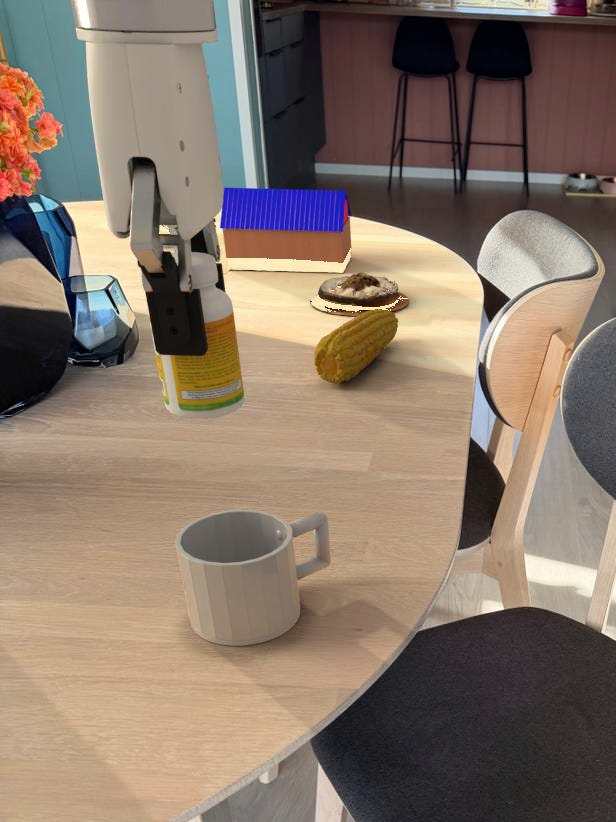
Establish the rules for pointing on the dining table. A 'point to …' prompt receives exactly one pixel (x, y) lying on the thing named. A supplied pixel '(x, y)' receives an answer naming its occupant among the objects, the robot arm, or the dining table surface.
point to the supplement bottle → (220, 366)
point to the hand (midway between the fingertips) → (194, 335)
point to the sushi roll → (361, 293)
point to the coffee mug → (246, 573)
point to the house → (286, 224)
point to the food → (354, 345)
